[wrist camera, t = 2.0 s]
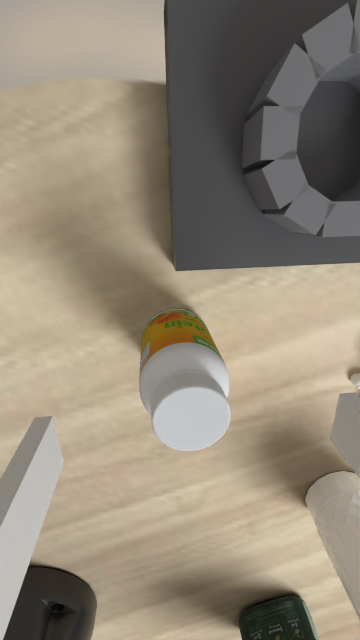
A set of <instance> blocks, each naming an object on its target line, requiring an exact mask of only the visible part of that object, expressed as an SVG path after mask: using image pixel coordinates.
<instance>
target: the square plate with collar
mask: <svg viewBox="0 0 360 640" xmlns="http://www.w3.org/2000/svg"><path fill="white" fill-rule="evenodd" d="M164 27H165V55H166V56H165V57H166V86H167V115H168V143H169V172H170V201H171V229H172V258H173V266H174V268H175V271H187V270H208V269H230V268H252V267H273V266H295V265H317V264H338V263H360V0H165V4H164Z"/></svg>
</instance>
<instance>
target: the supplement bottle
mask: <svg viewBox="0 0 360 640" xmlns="http://www.w3.org/2000/svg"><path fill="white" fill-rule="evenodd" d="M229 386H230V382H229V374H228V371H227V368H226V366H225V363H224V361H223V359H222V357H221V355H220V353H219V351H218V349H217V347H216V345H215V343H214V341H213V339H212V337H211V335H210V333H209V331H208V329H207V327H206V325H205V323H204V322H203V321H202V320H201V318H199V317H198V316H197V315H196V314H194V313H192V312H190V311H188V310H184V309H169V310H165V311H163V312H160V313H159V314H157V315H155V316H154V317H153V318H152V319H151V320H150V321H149V322H148V324H147V325H146V327H145V329H144V332H143V335H142V343H141V361H140V377H139V391H140V396H141V400H142V402H143V404H144V406H145V408H146V409H147V411H148V412H149V413H150V414H151V419H152V427H153V430H154V432H155V434H156V436H157V437H158V439H159V440H160V441H161V442H162V443H164V444H165V445H167V446H169V447H170V448H173V449H176V450H181V451H195V450H200V449H203V448H206V447H208V446H210V445H212V444H214V443H215V442H216V441H218V440H219V439H220V438H221V437H222V436H223V434H224V433H225V432H226V430H227V428H228V426H229V423H230V418H231V412H230V407H229V404H228V401H227V396H228V393H229Z"/></svg>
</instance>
